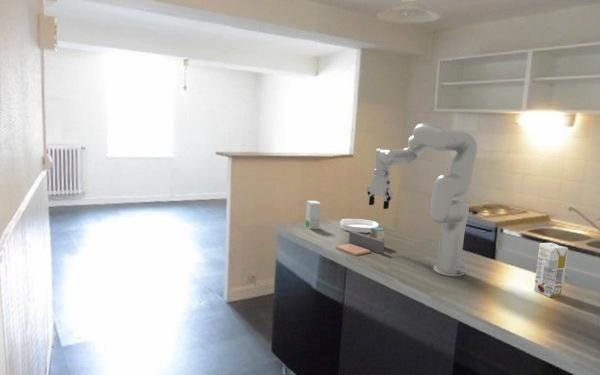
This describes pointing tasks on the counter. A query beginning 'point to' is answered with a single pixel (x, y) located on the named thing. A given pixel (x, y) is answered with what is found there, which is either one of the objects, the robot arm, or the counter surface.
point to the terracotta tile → (353, 249)
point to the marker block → (377, 233)
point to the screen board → (366, 242)
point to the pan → (358, 225)
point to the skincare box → (313, 214)
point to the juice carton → (550, 269)
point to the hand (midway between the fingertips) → (378, 206)
